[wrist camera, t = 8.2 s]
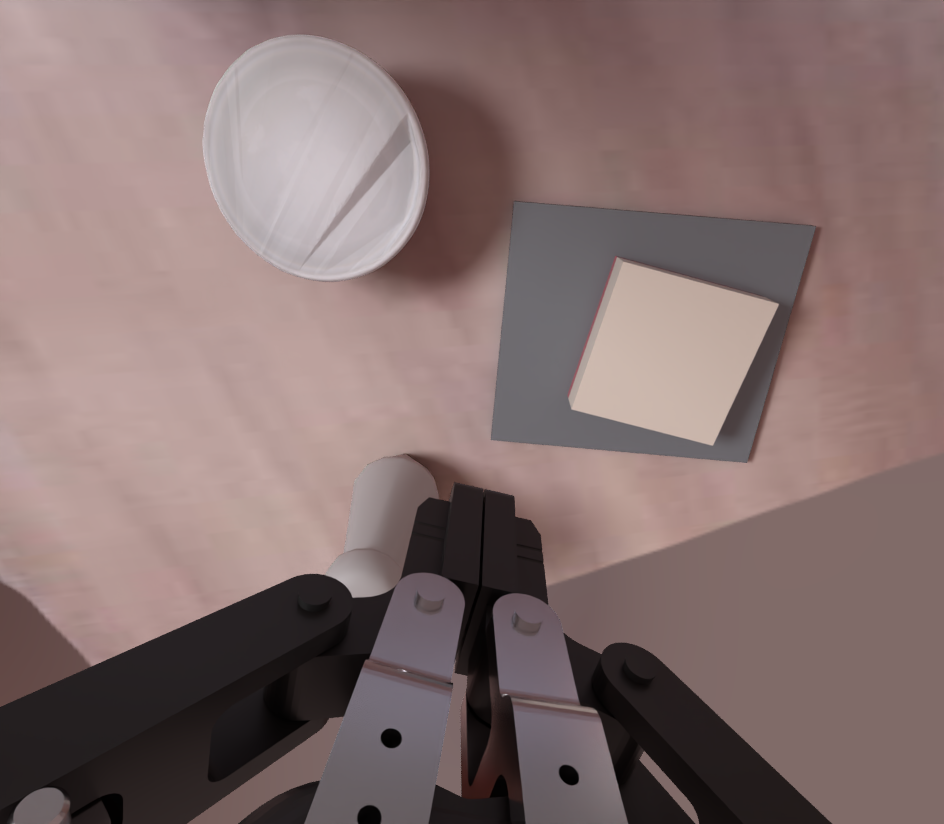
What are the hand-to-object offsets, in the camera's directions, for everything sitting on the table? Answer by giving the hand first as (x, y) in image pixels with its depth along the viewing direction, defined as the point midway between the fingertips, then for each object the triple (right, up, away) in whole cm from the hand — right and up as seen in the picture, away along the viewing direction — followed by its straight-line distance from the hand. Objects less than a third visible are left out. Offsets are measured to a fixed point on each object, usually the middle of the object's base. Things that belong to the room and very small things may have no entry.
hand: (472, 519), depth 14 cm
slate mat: (+10, +7, +22) cm, 25 cm away
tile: (+7, +7, +20) cm, 23 cm away
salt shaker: (-5, -2, +27) cm, 27 cm away
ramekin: (-7, +17, +19) cm, 27 cm away
